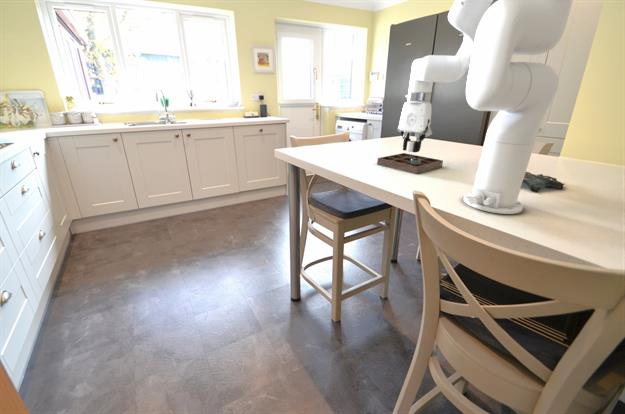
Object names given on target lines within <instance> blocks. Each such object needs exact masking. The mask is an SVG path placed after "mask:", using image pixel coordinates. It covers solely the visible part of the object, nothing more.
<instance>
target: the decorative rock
mask: <svg viewBox="0 0 625 414" xmlns="http://www.w3.org/2000/svg"><path fill="white" fill-rule="evenodd" d="M522 183H525V184H527V186H528V188H529V189H530V191H531V192H532V193H539V192H540V191H541V190H542V189H543V188H549V186H557V187H559V189H560V190H563V189H564V185H565V183H563V182H561V181H558V179H557V178H555V177H552V176H550V175H543V174H542V173H541V174H534V173H532V172H529V171H526V173H525V176H524V179H523V182H522Z"/></svg>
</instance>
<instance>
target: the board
mask: <svg viewBox="0 0 625 414" xmlns="http://www.w3.org/2000/svg"><path fill="white" fill-rule="evenodd" d="M411 158H419V159H421V165H420V166H413V165H410V159H411ZM443 163H444V160H443V159H437V158H433V157H426V156H422V155H416V154H412V153H407V152H402V153H397V154H392V155H387V156H386V155H385V156H381V157H377V161H376V165H377V166H380V167H381V166H382V167H386V168H390V169H393V170H397V171H402V172H407V173H410V174H415V175H419V174H422V173H425V172H429V171H433V170H436V169H439V168H440V169H441V168H442V167H443Z"/></svg>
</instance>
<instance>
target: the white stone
mask: <svg viewBox="0 0 625 414" xmlns="http://www.w3.org/2000/svg"><path fill="white" fill-rule="evenodd" d="M415 141H416V140H411V141H407V147H406V150H405V151H406V152H408V153H414V152H413V148H414V142H415Z"/></svg>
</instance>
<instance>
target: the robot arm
mask: <svg viewBox="0 0 625 414" xmlns="http://www.w3.org/2000/svg"><path fill="white" fill-rule="evenodd" d="M573 1H574V0H496V1H494V0H454V1H453V4H452V5H451V7H450V9H449V12H448V14H447V20H448V22H449V24H450V25H451V26H452V27H454V28H455V29H456V30H457V31H459V32H460V33H462V34H463V40H462V43H461V45H460V46H459V47H460V48H459V49H458V51H457V53H456V54H455V55H443V54H439V55H438V54H428V55H425V56H423V57H419V58H416V59H414V60H413V62H412V63H411V71H410V78H409V84H408V85H409V86H408V93H407V94H405V99H406V101H405V102H404V104H403V107H402V110H401V114H400V118H399V124H398V127H397V129H396V130H397V132H399V134H400V135H401V137H402V140H403V144H402V150H403V151H406V147H407V141H412V140H411V138H410V137H411V134H412V133H415V140H414V141H415V142H414V148H413V152H412V153H419V152H420V150H421V147H422V142H423V141H424V140H425V139H426V138H427V137H430V136H432V135H433V130H432V128H431V124H432V113H433V111H432V102H431V98H432V92H433V85H434V83H455V82H458V81H459V80H460V79H461V78H462V77H463V76H464V75H465V73H466V72H467V71H468V74H467V80H466V86H465V97H466V98H465V99H466V102H467V104H468V106H469V107H470V108H471V109H474V110H476V111H480V112H498V113H497V114H496V115H495V116H494V118H493V119H492V121H491V123H490V124H489V126H488V128H487V131H486V134H485V139H484V142H483V146H482V152H481V155H480V159H479V163H478V167H477V171H476V174H475V181H474V183H473V188H472V191H471V192H467V193H465V195H464V196H463V201H464V203H465V204H466V205H468V206H470V207H471V208H474V209H477V210H481V211H484V212H488V213H491V214H492V213H493V214H500V215H515V214H519V213H521V212H523V209H524V205H523V203H521V202H520V201H519V200H518V199H519V195H520V192H521V189H522V185H523V183H524V182H523V179H524V176H525V173H526V172H527V169H528V167H529V162H530V160H531V156H532V153H533V150H534V148H535V147H534V146H535V144H536V140H537V137H538V135H539V131H540V128H541V125H542V123H543V121H544V118H545V116H546V113H547V112H548V110H549V108H550V106H551V105H552V102H553V100H554V99H555V97H556V94H557V92H558V89H559V85H560V79H559V75H558V73H557V71H556V70H555V68H553V67H551V66H550V65H548V64H544V63H542V62H532V61H531V62H530V61H529V62H528V61H512V58H513V55H514V56H539V55H543V54H546V53H548V52H550V51H552V50H553V49H554V48H555V47H556V46H557V45H558V44H559V42H560V41H561V39H562V37H563V35H564V32H565V30H566V27H567V24H568V23H567V22H568V20H569V16H570V12H571V9H572V4H573Z"/></svg>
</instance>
